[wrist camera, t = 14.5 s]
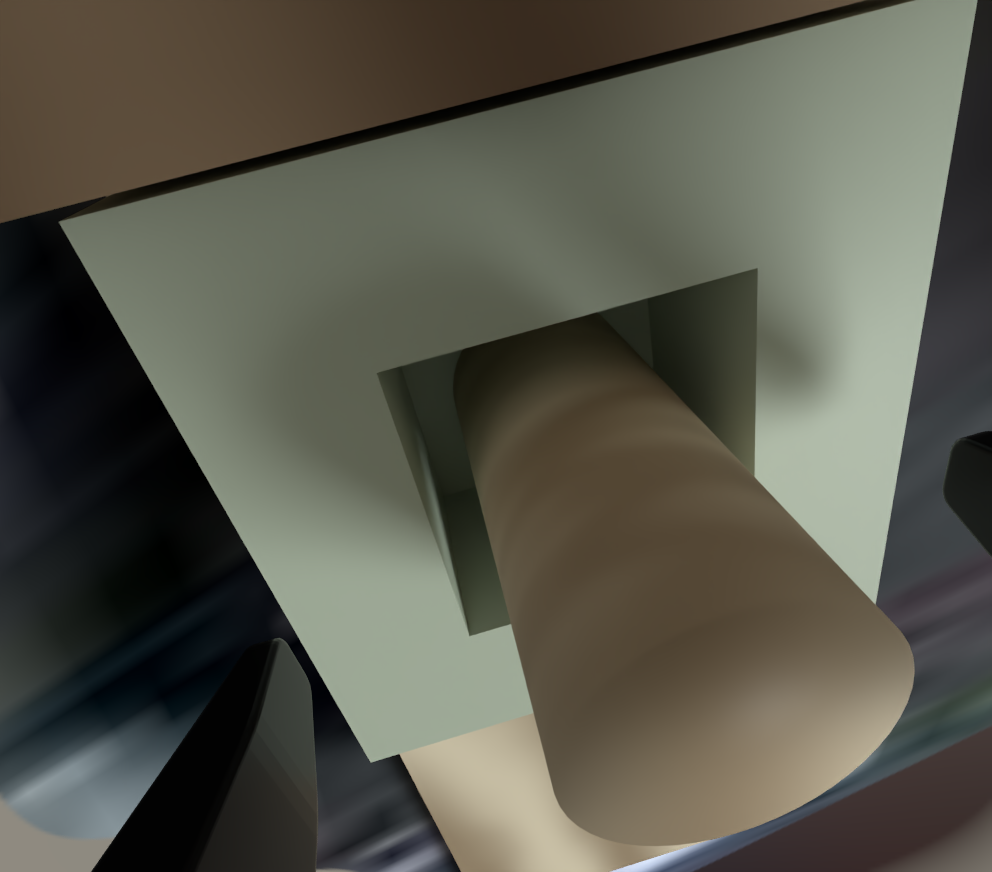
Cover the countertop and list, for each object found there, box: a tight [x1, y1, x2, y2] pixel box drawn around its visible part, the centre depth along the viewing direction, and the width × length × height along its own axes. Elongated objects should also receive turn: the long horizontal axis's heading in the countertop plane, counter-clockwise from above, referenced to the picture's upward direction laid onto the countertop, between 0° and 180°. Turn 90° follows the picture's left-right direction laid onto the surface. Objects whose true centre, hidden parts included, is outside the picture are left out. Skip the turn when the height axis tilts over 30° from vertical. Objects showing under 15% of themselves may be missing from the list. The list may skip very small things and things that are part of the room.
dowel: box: [453, 312, 914, 846], centre depth 9 cm, size 4×4×8 cm
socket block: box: [59, 0, 977, 762], centre depth 11 cm, size 10×10×5 cm
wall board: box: [0, 0, 864, 872], centre depth 16 cm, size 13×32×7 cm, turn 12°
